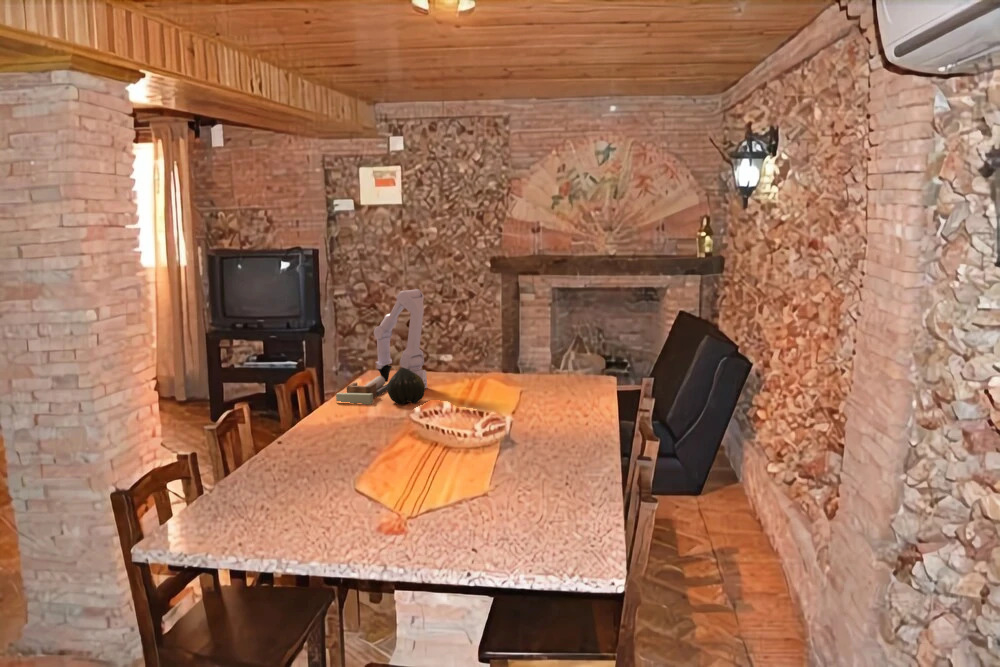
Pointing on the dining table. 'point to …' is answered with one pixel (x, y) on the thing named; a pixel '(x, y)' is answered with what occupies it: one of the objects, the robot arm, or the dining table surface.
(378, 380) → the tube
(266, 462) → the dining table surface
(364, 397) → the wall
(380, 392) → the guide rails
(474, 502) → the dining table surface
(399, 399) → the squash
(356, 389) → the socket block
